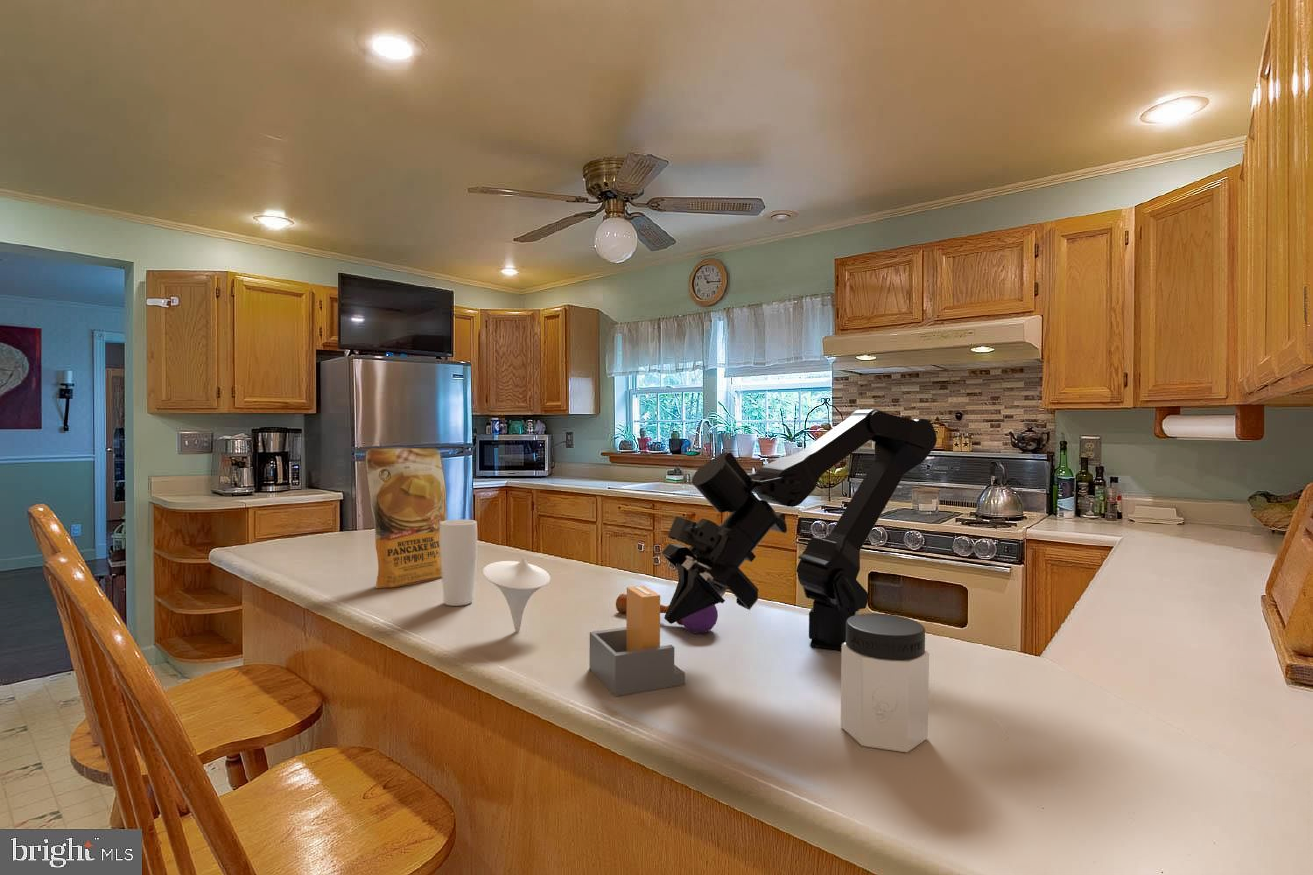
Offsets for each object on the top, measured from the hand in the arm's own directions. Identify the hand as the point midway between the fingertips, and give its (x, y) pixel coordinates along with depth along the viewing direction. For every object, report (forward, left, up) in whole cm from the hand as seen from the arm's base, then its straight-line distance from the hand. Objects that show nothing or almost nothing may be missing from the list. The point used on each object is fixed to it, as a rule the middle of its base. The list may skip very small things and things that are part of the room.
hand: (667, 621), depth 89 cm
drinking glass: (+47, -17, -7) cm, 50 cm away
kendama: (+8, -20, -7) cm, 23 cm away
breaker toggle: (+2, +3, -5) cm, 6 cm away
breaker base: (+3, +3, -7) cm, 8 cm away
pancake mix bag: (+67, -27, -7) cm, 73 cm away
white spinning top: (+28, -7, -7) cm, 30 cm away
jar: (-28, +8, -7) cm, 30 cm away
